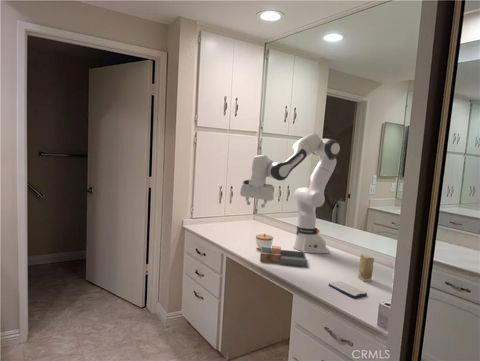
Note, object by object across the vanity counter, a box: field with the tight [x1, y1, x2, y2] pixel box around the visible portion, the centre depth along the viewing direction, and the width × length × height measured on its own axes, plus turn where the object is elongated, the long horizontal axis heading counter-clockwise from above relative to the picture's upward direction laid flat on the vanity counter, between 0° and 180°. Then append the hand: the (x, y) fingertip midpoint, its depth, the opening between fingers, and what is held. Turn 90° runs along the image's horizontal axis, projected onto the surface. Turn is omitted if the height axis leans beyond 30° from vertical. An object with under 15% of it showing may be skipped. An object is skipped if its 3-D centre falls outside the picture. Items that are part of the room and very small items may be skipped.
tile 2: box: [262, 245, 272, 252], centre depth 194 cm, size 5×5×2 cm
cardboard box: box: [259, 247, 281, 264], centre depth 194 cm, size 11×12×4 cm
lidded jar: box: [255, 233, 274, 250], centre depth 213 cm, size 11×11×9 cm
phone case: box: [328, 281, 368, 300], centre depth 155 cm, size 9×2×16 cm
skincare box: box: [357, 253, 375, 283], centre depth 170 cm, size 6×4×12 cm
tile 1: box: [271, 245, 282, 253], centre depth 193 cm, size 5×5×2 cm
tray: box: [279, 249, 308, 268], centre depth 193 cm, size 14×16×4 cm
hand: (255, 206), depth 201 cm, fingers open, 8 cm apart
